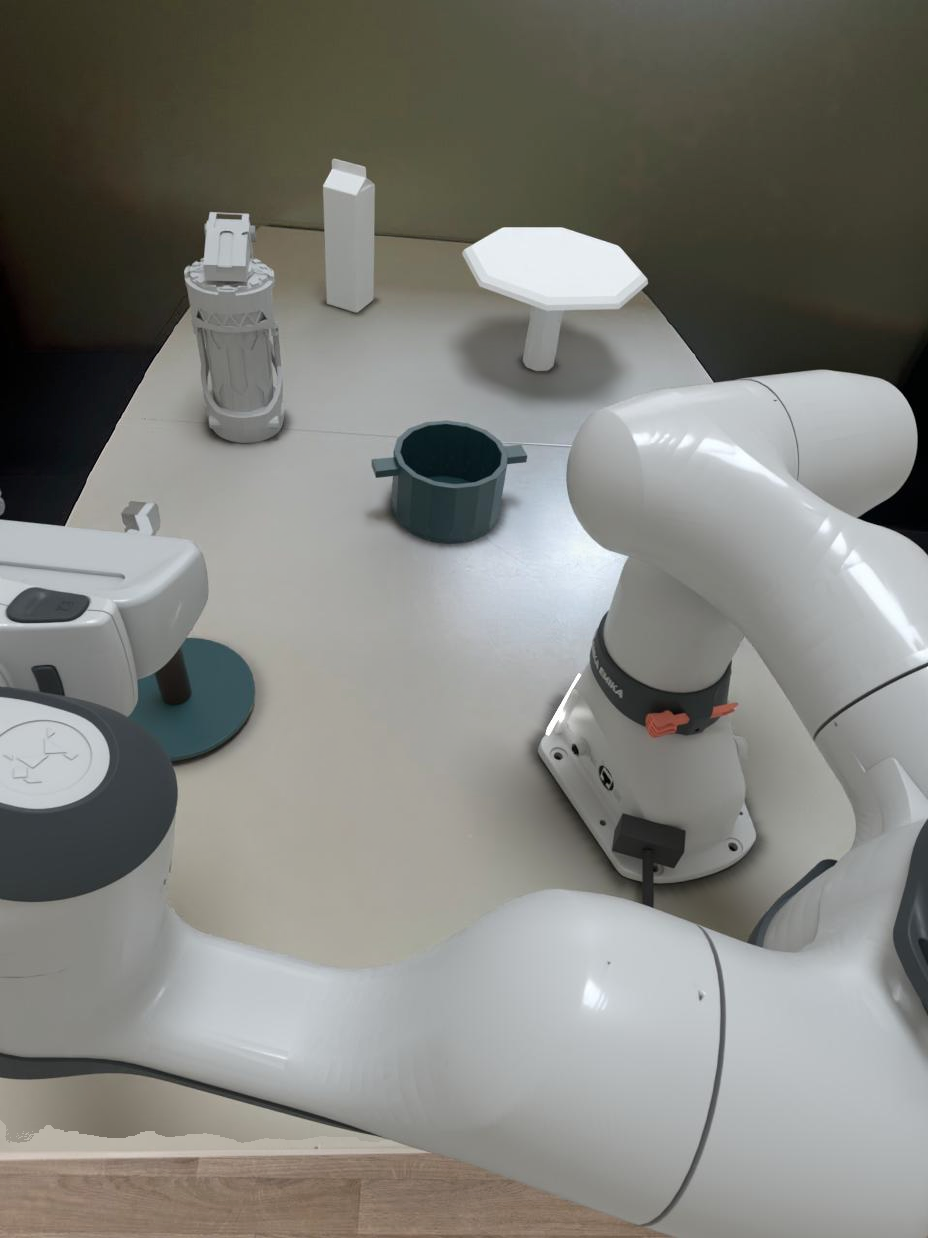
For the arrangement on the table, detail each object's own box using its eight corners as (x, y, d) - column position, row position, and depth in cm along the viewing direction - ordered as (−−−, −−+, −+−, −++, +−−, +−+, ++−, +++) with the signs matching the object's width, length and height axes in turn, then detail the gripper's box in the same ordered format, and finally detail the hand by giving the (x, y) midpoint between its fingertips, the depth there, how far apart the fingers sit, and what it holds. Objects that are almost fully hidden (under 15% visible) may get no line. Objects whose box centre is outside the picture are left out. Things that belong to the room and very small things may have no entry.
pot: (533, 533, 100) (544, 478, 94) (385, 552, 95) (386, 496, 89) (499, 468, 109) (507, 414, 103) (361, 483, 104) (361, 427, 98)
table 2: (621, 424, 119) (650, 317, 107) (437, 393, 121) (446, 284, 108) (624, 336, 139) (650, 238, 127) (466, 310, 140) (476, 210, 128)
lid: (264, 748, 75) (249, 649, 65) (98, 779, 71) (53, 680, 61) (246, 635, 84) (231, 533, 74) (98, 657, 80) (60, 553, 70)
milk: (343, 291, 141) (341, 152, 125) (374, 300, 139) (376, 161, 123) (326, 304, 137) (321, 162, 121) (357, 313, 135) (356, 171, 119)
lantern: (285, 444, 108) (269, 258, 90) (205, 444, 106) (173, 254, 88) (286, 393, 117) (273, 213, 99) (213, 392, 115) (185, 209, 97)
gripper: (-256, 680, 39) (-86, 530, 50) (161, 723, 39) (240, 564, 50) (-325, 575, 35) (-124, 436, 46) (139, 623, 35) (230, 474, 46)
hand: (69, 503), depth 48 cm, fingers open, 8 cm apart
